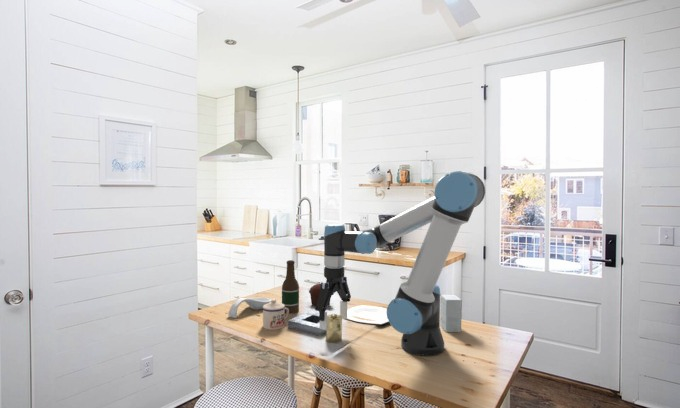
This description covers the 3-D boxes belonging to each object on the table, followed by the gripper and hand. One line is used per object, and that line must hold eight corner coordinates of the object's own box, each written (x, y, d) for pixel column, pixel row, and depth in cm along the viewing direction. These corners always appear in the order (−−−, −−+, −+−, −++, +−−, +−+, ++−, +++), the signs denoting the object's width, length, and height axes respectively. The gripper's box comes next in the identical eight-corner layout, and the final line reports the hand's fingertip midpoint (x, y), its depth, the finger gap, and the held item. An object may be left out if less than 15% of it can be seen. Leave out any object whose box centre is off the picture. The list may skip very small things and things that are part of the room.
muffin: (336, 303, 188) (336, 283, 188) (324, 309, 179) (324, 288, 178) (317, 300, 194) (317, 280, 194) (303, 305, 185) (304, 285, 185)
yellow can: (344, 340, 141) (345, 314, 141) (336, 345, 136) (336, 318, 136) (331, 336, 145) (331, 311, 144) (322, 342, 139) (322, 315, 139)
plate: (383, 331, 153) (383, 326, 153) (334, 321, 164) (334, 316, 164) (403, 315, 173) (403, 311, 173) (358, 307, 184) (358, 303, 184)
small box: (461, 332, 151) (462, 299, 151) (445, 332, 151) (446, 300, 151) (454, 325, 159) (455, 294, 159) (439, 325, 159) (440, 294, 159)
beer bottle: (302, 312, 175) (302, 260, 174) (291, 316, 168) (291, 263, 167) (289, 309, 179) (289, 258, 178) (278, 313, 172) (278, 261, 172)
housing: (340, 327, 155) (340, 317, 155) (320, 338, 144) (320, 328, 144) (309, 320, 164) (309, 311, 164) (287, 330, 152) (287, 320, 152)
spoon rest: (257, 302, 190) (257, 288, 190) (276, 306, 184) (276, 291, 184) (222, 316, 169) (222, 300, 169) (242, 320, 163) (242, 304, 163)
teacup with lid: (271, 334, 148) (271, 304, 148) (257, 328, 154) (257, 299, 154) (295, 326, 157) (295, 298, 156) (281, 320, 163) (281, 294, 163)
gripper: (343, 260, 152) (343, 312, 153) (305, 271, 131) (304, 331, 132) (359, 262, 148) (359, 316, 149) (323, 273, 127) (322, 336, 128)
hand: (333, 323), depth 140 cm, fingers open, 13 cm apart
